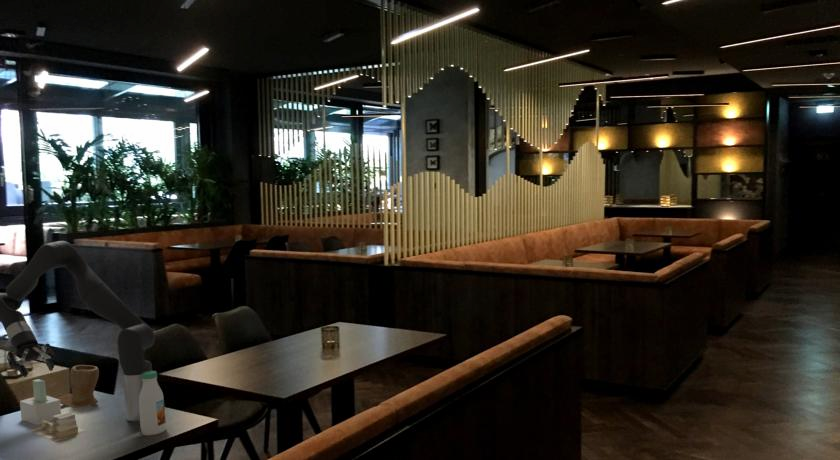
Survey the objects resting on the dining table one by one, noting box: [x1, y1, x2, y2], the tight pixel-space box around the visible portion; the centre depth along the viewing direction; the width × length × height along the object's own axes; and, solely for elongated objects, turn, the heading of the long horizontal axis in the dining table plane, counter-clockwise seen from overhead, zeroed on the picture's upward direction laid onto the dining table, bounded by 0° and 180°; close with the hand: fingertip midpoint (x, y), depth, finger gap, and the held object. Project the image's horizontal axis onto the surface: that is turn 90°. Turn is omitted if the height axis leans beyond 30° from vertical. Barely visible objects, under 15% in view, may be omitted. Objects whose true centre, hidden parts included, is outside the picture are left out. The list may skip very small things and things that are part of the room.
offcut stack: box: [51, 411, 79, 438], centre depth 217 cm, size 6×6×6 cm
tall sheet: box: [32, 378, 47, 403], centre depth 233 cm, size 5×2×14 cm, turn 53°
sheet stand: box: [19, 394, 62, 426], centre depth 233 cm, size 12×8×8 cm, turn 54°
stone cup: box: [57, 364, 100, 408], centre depth 252 cm, size 15×12×15 cm
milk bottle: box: [139, 370, 167, 436], centre depth 219 cm, size 8×8×20 cm
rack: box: [30, 420, 87, 442], centre depth 220 cm, size 18×10×4 cm, turn 54°
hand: (39, 372), depth 232 cm, fingers open, 8 cm apart
